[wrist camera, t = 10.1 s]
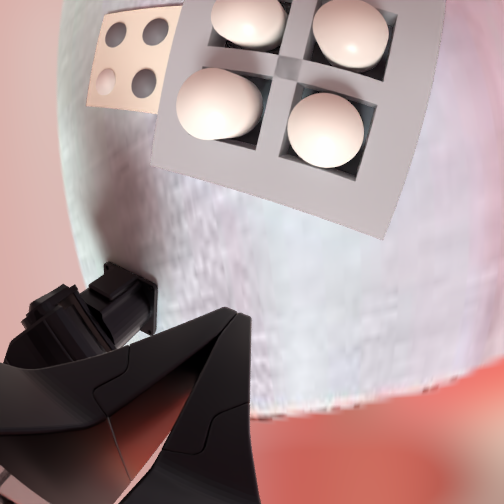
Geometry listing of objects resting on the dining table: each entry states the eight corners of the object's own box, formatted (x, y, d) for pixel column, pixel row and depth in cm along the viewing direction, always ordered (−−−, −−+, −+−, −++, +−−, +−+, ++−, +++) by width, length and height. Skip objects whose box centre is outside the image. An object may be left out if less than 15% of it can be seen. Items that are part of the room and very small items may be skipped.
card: (165, 114, 21) (161, 114, 20) (89, 105, 22) (84, 106, 22) (190, 7, 17) (186, 4, 16) (107, 15, 18) (103, 14, 18)
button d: (283, 57, 16) (269, 44, 13) (225, 49, 17) (204, 38, 14) (296, 5, 14) (284, -14, 12) (238, 0, 15) (219, -17, 12)
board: (380, 227, 19) (382, 240, 17) (168, 161, 22) (149, 165, 20) (437, 10, 12) (446, -3, 9) (212, -30, 15) (198, -42, 13)
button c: (376, 81, 15) (380, 71, 12) (313, 63, 16) (305, 51, 13) (388, 27, 13) (394, 9, 10) (326, 11, 14) (320, -9, 11)
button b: (255, 144, 18) (235, 147, 15) (197, 130, 18) (170, 132, 16) (270, 81, 16) (252, 72, 13) (209, 72, 17) (184, 64, 14)
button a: (352, 170, 18) (351, 177, 15) (291, 151, 19) (279, 155, 16) (369, 110, 16) (372, 106, 13) (306, 92, 17) (297, 84, 14)
